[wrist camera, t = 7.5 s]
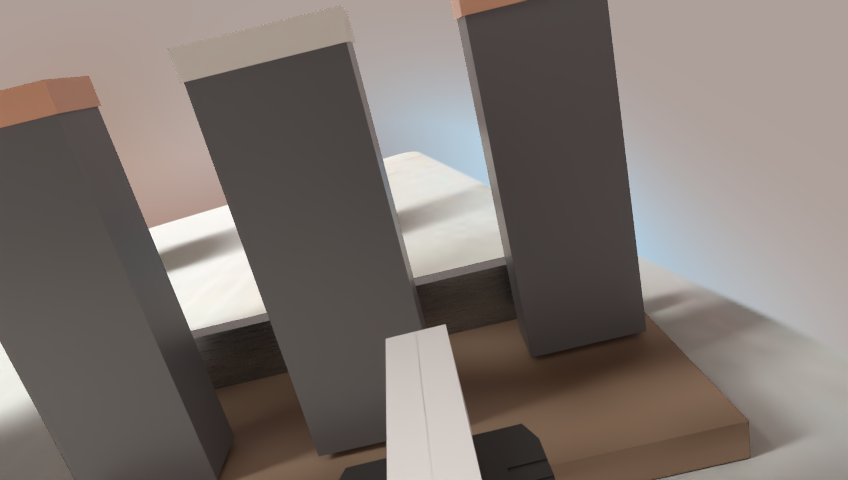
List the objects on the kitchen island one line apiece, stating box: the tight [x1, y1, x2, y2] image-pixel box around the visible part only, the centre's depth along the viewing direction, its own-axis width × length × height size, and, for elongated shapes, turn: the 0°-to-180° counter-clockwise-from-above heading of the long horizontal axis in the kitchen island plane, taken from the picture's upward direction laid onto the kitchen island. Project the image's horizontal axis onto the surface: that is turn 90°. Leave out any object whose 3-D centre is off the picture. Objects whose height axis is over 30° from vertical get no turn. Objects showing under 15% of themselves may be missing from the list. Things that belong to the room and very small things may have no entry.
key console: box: [191, 257, 750, 480], centre depth 24 cm, size 11×24×4 cm, turn 94°
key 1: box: [451, 0, 646, 357], centre depth 23 cm, size 3×5×15 cm, turn 94°
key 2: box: [0, 76, 234, 480], centre depth 20 cm, size 3×5×15 cm, turn 94°
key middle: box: [168, 6, 427, 456], centre depth 20 cm, size 3×5×15 cm, turn 94°
